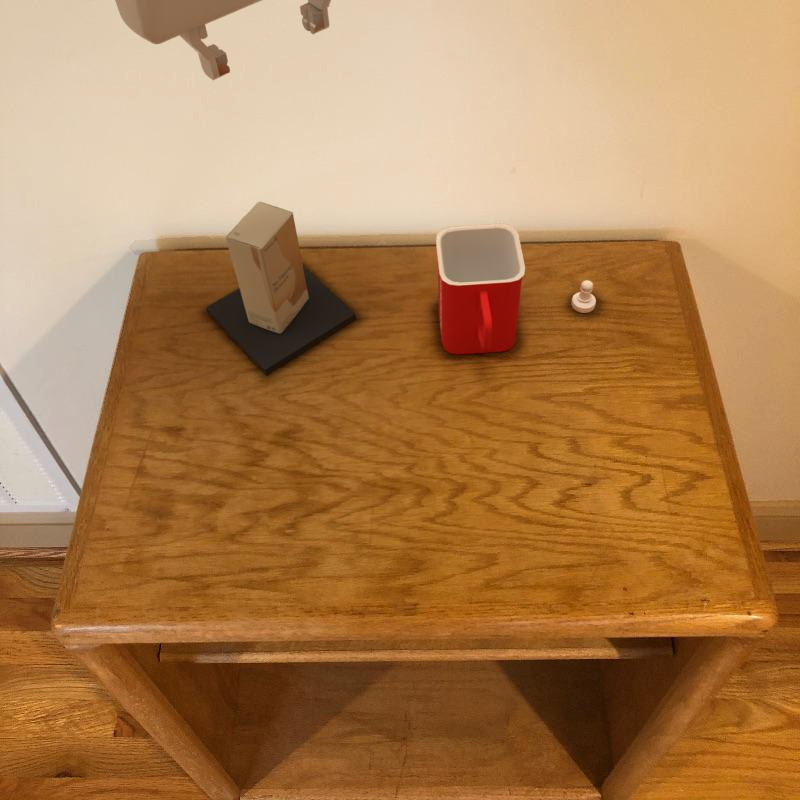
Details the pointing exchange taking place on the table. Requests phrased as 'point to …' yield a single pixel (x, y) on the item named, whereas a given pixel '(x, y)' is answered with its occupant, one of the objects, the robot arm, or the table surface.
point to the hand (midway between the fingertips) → (268, 50)
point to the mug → (479, 287)
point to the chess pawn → (584, 298)
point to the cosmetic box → (268, 266)
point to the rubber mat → (300, 335)
